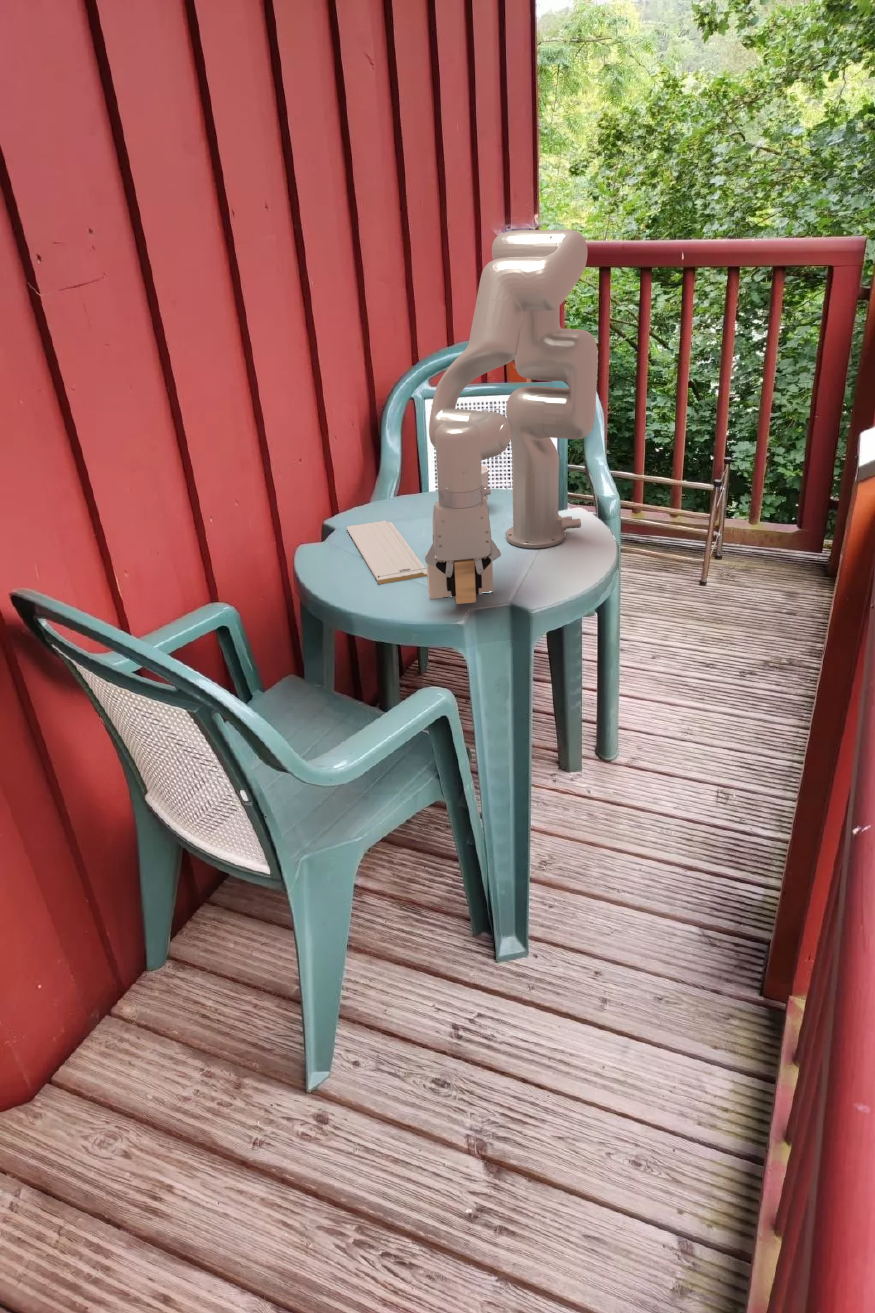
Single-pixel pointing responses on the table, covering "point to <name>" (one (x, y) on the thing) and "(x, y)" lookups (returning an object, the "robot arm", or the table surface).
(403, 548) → the baseboard molding
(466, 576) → the oak slotted board
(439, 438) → the robot arm
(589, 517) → the table surface
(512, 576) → the table surface
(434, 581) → the cream upright board
